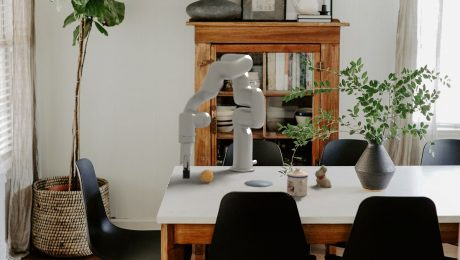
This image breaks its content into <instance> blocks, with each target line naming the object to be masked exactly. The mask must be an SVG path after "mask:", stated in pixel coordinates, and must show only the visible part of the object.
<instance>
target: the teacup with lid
mask: <svg viewBox="0 0 460 260" xmlns="http://www.w3.org/2000/svg"><path fill="white" fill-rule="evenodd" d="M286 177H287V181H286V183H287V184H286V190H287V191H286V194H287V193H289V194H291V195H292V196H291V197H305V196H307V194H308V179H309V178H308V177H309V174H308V173H307V172H305V171H304V170H301V168H300V167H296V168H295V169H293V170H291V171H288V172H287V174H286Z"/></svg>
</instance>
